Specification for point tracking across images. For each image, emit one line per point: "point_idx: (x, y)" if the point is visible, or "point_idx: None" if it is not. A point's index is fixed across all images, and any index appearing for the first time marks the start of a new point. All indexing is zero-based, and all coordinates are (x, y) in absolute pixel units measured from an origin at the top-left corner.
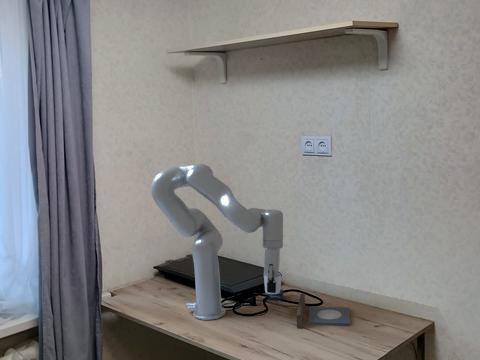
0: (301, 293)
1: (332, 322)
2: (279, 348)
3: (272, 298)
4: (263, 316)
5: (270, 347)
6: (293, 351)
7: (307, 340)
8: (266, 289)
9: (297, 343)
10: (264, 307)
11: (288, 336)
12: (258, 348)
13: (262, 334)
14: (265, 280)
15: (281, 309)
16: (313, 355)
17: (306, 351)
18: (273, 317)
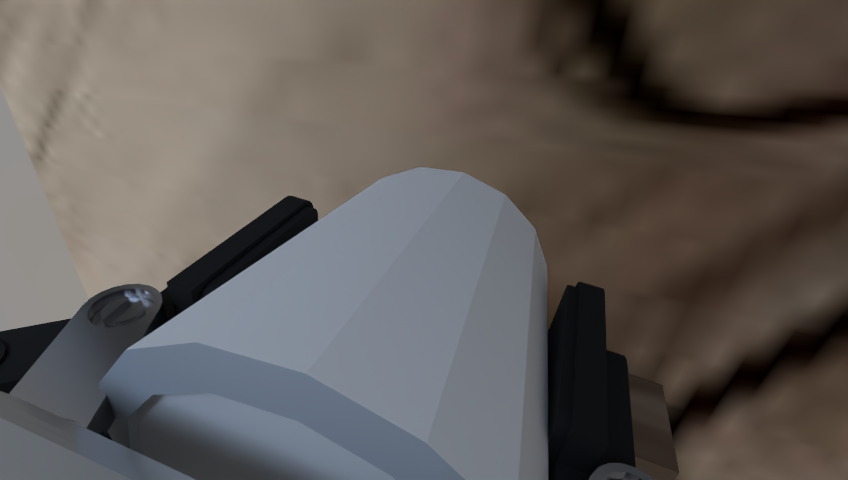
0: (673, 477)
1: None
2: (69, 129)
3: None
4: (499, 68)
5: (60, 82)
6: (68, 189)
7: (177, 271)
8: (350, 201)
9: (139, 222)
10: (747, 95)
11: (195, 197)
12: (26, 7)
13: (186, 41)
14: (238, 274)
15: (626, 242)
16: (70, 255)
17: (88, 240)
18: (465, 153)
